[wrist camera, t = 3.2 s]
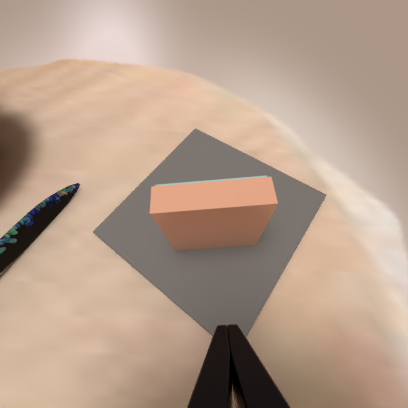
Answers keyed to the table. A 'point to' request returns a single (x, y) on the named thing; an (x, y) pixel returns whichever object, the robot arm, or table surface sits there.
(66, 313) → the table surface
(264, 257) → the mat
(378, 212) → the table surface
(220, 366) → the robot arm
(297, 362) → the table surface
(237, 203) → the tile
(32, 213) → the knife
